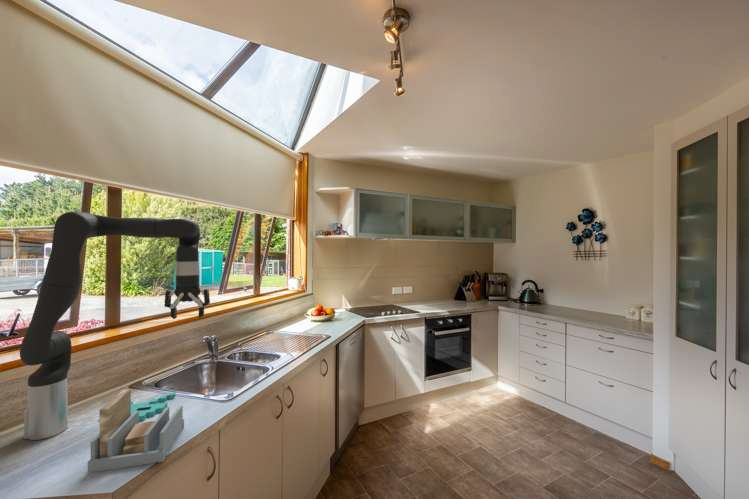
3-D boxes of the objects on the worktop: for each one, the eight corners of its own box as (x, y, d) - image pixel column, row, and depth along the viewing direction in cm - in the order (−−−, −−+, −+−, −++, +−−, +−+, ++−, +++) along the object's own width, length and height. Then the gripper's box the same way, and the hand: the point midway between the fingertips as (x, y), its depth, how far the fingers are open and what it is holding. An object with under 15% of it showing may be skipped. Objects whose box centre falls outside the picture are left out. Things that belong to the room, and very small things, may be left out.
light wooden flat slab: (99, 466, 89) (99, 409, 89) (123, 439, 102) (123, 389, 102) (108, 465, 90) (107, 409, 90) (130, 438, 102) (130, 389, 102)
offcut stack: (122, 462, 91) (121, 443, 91) (136, 438, 102) (136, 422, 102) (148, 456, 94) (148, 438, 93) (159, 434, 105) (159, 418, 105)
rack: (87, 472, 86) (87, 443, 86) (122, 435, 104) (122, 411, 104) (162, 461, 91) (162, 434, 91) (184, 427, 108) (184, 404, 108)
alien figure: (118, 403, 126) (88, 432, 106) (118, 398, 126) (88, 425, 106) (175, 397, 131) (155, 423, 112) (175, 392, 131) (155, 417, 112)
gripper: (161, 275, 110) (161, 321, 110) (206, 274, 114) (206, 319, 114) (169, 273, 117) (169, 316, 117) (211, 272, 121) (211, 314, 121)
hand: (187, 317), depth 116 cm, fingers open, 8 cm apart
